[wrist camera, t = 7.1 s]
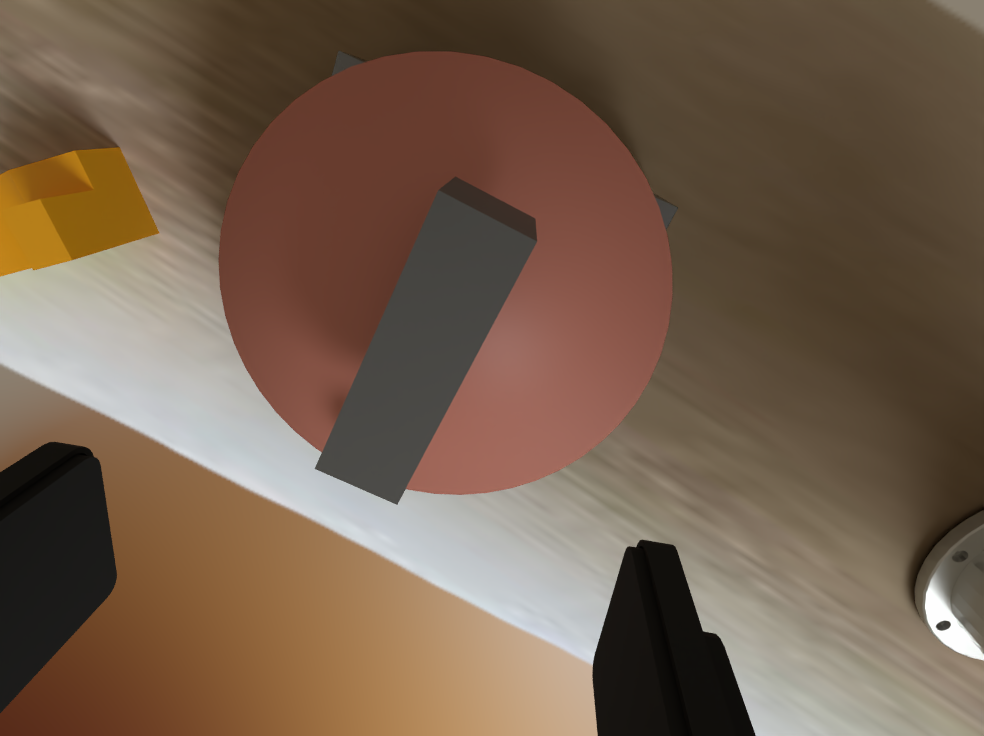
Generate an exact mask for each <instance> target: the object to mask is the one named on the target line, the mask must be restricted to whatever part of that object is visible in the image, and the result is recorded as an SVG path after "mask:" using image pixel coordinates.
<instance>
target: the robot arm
mask: <svg viewBox="0 0 984 736" xmlns="http://www.w3.org/2000/svg"><path fill="white" fill-rule="evenodd" d="M116 578H117V572H116V566H115V558H114V552H113V545H112V538H111V532H110V525H109V518H108V512H107V505H106V498H105V491H104V485H103V478H102V472H101V465H100V462H99V460H98V459H97V458H95V457H94V456H93V453H92V452H91V450H90V449H88V448H86V447H83V446H76V445H71V444H65V443H58V442H49V443H47V444H44V445H43V446H41V447H39V448H38V449H36V450H35V451H33V452H31V453H30V454H28V455H27V456H25V457H24V458H22V459H20V460H19V461H17V462H16V463H14V464H13V465H11V466H10V467H8V468H6V469H5V470H3V471H2V472H0V713H1V712H2V711H3V710H4V709H5V707H6V706H7V705H8V704H9V703H10V702H11V701H12V700H13V699H14V698H15V697H16V695H18V694H19V692H20V691H21V690H22V689H23V688H24V687H25V686H26V685H27V684H28V683H29V682H30V681H31V679H32V678H33V677H34V676H35V675H36V674H37V673H38V672H39V671H40V670H41V669H42V668H43V666H44V665H45V664H46V663H47V662H48V661H49V660H50V659H51V658H52V657H53V656H54V655H55V654H56V652H57V651H58V650H59V649H60V648H61V647H62V646H63V645H64V644H65V643H66V641H68V639H69V638H70V637H71V636H72V635H73V634H74V633H75V632H76V631H77V630H78V629H79V628H80V626H81V625H82V624H83V623H84V622H85V621H86V620H87V619H88V618H89V617H90V616H91V614H92V613H93V612H94V611H95V610H96V609H97V608H98V607H99V606H100V605H101V604H102V603H103V602H104V601H105V599H106V598H107V597H108V596H109V595H110V593H111V592H112V590H113V588H114V585H115V583H116ZM915 604H916V607H917V610H918V613H919V616H920V617H921V619H922V620H923V622H924V623H925V624H926V626H927V627H928V628H929V630H930V631H931V633H932V634H933V635H934V636H935V637H936V638H937V639H938V640H939V641H940V642H941V643H942V644H944V645H945V646H947V647H948V648H950V649H952V650H953V651H955V652H958V653H960V654H963V655H965V656H968V657H971V658H976V659H980V660H984V510H983V511H981V512H979V513H977V514H975V515H973V516H971V517H969V518H967V519H966V520H965V521H963V522H962V523H960V524H959V525H958V526H956V527H955V528H953V529H952V530H951V531H950V532H949V533H948V534H946V535H945V536H944V537H943V538H942V539H941V540H940V541H939V542H938V543H937V544H936V545H935V547H934V548H933V549H932V551H931V552H930V553H929V555H928V556H927V558H926V559H925V561H924V563H923V565H922V567H921V569H920V571H919V573H918V576H917V580H916V585H915ZM593 688H594V699H595V710H596V720H597V732H598V736H756V735H755V732H754V730H753V727H752V724H751V721H750V718H749V715H748V713H747V710H746V707H745V704H744V701H743V698H742V695H741V693H740V690H739V687H738V684H737V681H736V678H735V676H734V673H733V670H732V667H731V664H730V661H729V658H728V656H727V653H726V650H725V647H724V645H723V643H722V641H721V639H720V638H719V637H718V636H717V635H716V634H714V633H708V632H703V630H702V627H701V624H700V621H699V618H698V615H697V612H696V608H695V605H694V602H693V599H692V596H691V593H690V590H689V587H688V583H687V580H686V577H685V574H684V571H683V568H682V565H681V561H680V558H679V555H678V552H677V550H676V547H675V546H674V545H671V544H665V543H659V542H653V541H647V540H640V541H639V543H638V544H637V547H630V546H629V547H627V548H626V551H625V553H624V557H623V560H622V564H621V567H620V571H619V574H618V577H617V581H616V584H615V588H614V591H613V594H612V598H611V601H610V605H609V608H608V611H607V615H606V618H605V622H604V625H603V628H602V632H601V635H600V639H599V642H598V646H597V649H596V652H595V656H594V661H593Z"/></svg>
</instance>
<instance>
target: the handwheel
mask: <svg viewBox="0 0 984 736" xmlns="http://www.w3.org/2000/svg"><path fill="white" fill-rule="evenodd" d="M219 275H220V290H221V295H222V300H223V306H224V311H225V316H226V319H227V323H228V326H229V329H230V332H231V335H232V338H233V341H234V344H235V346H236V348H237V350H238V353H239V355H240V357H241V359H242V361H243V363H244V366H245V368H246V369H247V371H248V373H249V374H250V376H251V378H252V379H253V381H254V382H255V384H256V386H257V387H258V389H259V391H260V392H261V393H262V395H263V396H264V397H265V398H266V400H267V401H268V402H269V403H270V405H271V406H272V407H273V409H274V410H275V411H276V412H277V413H278V414H279V415H280V417H281V418H282V419H283V420H284V421H285V422H286V423H287V424H288V425H289V426H290V427H291V428H292V429H293V430H294V431H295V432H296V433H298V434H299V435H300V436H301V437H303V438H304V439H305V440H306V441H307V442H309V443H310V444H311V445H312V446H314V447H315V448H316V449H318V450H319V451H321V452H322V454H321V456H320V458H319V460H318V463H317V465H316V467H315V469H317V470H319V471H321V472H324V473H326V474H328V475H330V476H333V477H335V478H337V479H340V480H342V481H344V482H346V483H349V484H351V485H353V486H356V487H358V488H360V489H362V490H365V491H367V492H369V493H372V494H374V495H376V496H378V497H381V498H383V499H385V500H388V501H390V502H392V503H394V504H398V502H399V500H400V498H401V497H402V495H403V493H404V491H405V489H408V490H414V491H421V492H427V493H434V494H456V495H463V494H477V493H488V492H493V491H499V490H504V489H509V488H513V487H517V486H520V485H523V484H526V483H530V482H533V481H536V480H538V479H540V478H543V477H545V476H547V475H550V474H552V473H554V472H556V471H559V470H560V469H562V468H564V467H565V466H567V465H569V464H571V463H572V462H574V461H576V460H577V459H579V458H581V457H582V456H583V455H585V454H586V453H587V452H589V451H590V450H591V449H592V448H594V447H595V446H596V445H598V444H599V443H600V442H602V441H603V440H604V439H605V438H606V437H607V436H608V435H609V434H610V433H611V432H612V431H613V430H614V429H615V428H616V427H617V426H618V425H619V424H620V423H621V421H622V420H623V419H624V418H625V416H626V415H627V414H628V412H629V411H630V410H631V409H632V407H633V406H634V405H635V404H636V402H637V401H638V399H639V397H640V395H641V394H642V392H643V390H644V389H645V387H646V385H647V384H648V382H649V380H650V378H651V376H652V374H653V371H654V369H655V367H656V364H657V362H658V360H659V357H660V355H661V352H662V348H663V345H664V341H665V338H666V334H667V330H668V327H669V319H670V312H671V304H672V262H671V255H670V248H669V241H668V236H667V233H666V229H665V226H664V222H663V219H662V215H661V212H660V208H659V206H658V203H657V201H656V199H655V197H654V195H653V192H652V190H651V188H650V186H649V183H648V181H647V179H646V177H645V175H644V174H643V172H642V171H641V169H640V167H639V166H638V164H637V163H636V161H635V159H634V158H633V156H632V155H631V153H630V152H629V150H628V149H627V148H626V146H625V145H624V144H623V143H622V142H621V140H620V139H619V138H618V137H617V136H616V135H615V133H614V132H613V131H612V130H611V129H610V127H609V126H608V125H607V124H606V123H605V122H604V121H603V120H602V119H600V118H599V117H598V116H597V115H596V114H595V113H594V112H593V111H591V110H590V109H589V108H588V107H587V106H586V105H585V104H584V103H582V102H581V101H580V100H579V99H577V98H576V97H574V96H572V95H571V94H569V93H568V92H566V91H565V90H563V89H562V88H560V87H559V86H557V85H556V84H554V83H553V82H551V81H549V80H547V79H545V78H543V77H541V76H538V75H536V74H534V73H532V72H530V71H528V70H526V69H524V68H521V67H519V66H516V65H512V64H509V63H506V62H503V61H499V60H496V59H493V58H489V57H486V56H479V55H472V54H466V53H459V52H452V51H417V52H410V53H404V54H397V55H390V56H384V57H380V58H377V59H374V60H371V61H368V62H364V63H361V64H358V65H355V66H352V67H349V68H347V69H345V70H343V71H341V72H339V73H337V74H335V75H333V76H331V77H329V78H327V79H325V80H323V81H321V82H320V83H318V84H317V85H315V86H314V87H312V88H311V89H310V90H308V91H307V92H305V93H304V94H302V95H301V96H300V97H298V98H297V99H295V100H294V101H293V102H292V103H291V104H290V105H289V106H288V107H287V108H286V109H285V110H284V111H283V112H282V113H280V114H279V115H278V116H277V117H276V118H275V119H274V120H273V121H272V122H271V123H270V125H269V126H268V127H267V129H266V130H265V131H264V133H263V134H262V135H261V136H260V138H259V139H258V140H257V142H256V143H255V144H254V146H253V147H252V149H251V151H250V152H249V154H248V156H247V158H246V160H245V161H244V163H243V165H242V167H241V169H240V170H239V172H238V174H237V177H236V180H235V182H234V185H233V188H232V190H231V193H230V196H229V198H228V201H227V205H226V210H225V214H224V219H223V223H222V228H221V236H220V248H219Z"/></svg>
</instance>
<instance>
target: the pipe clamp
mask: <svg viewBox="0 0 984 736" xmlns="http://www.w3.org/2000/svg"><path fill="white" fill-rule="evenodd" d="M158 233H159V231H158V229H157V227H156V225H155V223H154V220H153V218H152V216H151V214H150V212H149V210H148V207H147V205H146V203H145V201H144V199H143V197H142V194H141V192H140V190H139V188H138V186H137V184H136V182H135V179H134V177H133V175H132V173H131V171H130V169H129V166H128V164H127V162H126V160H125V158H124V156H123V153H122V151H121V149H120V147H117V148H103V149H89V150H75V151H71V152H68V153H65V154H61V155H58V156H55V157H51V158H48V159H44V160H41V161H38V162H34V163H31V164H27V165H24V166H21V167H17V168H14V169H11V170H8V171H6V172H5V173H2V174H0V276H4V275H7V274H11V273H15V272H18V271H22V270H26V269H30V268H32V269H33V270H37V269H40V268H44V267H48V266H52V265H56V264H59V263H63V262H67V261H71V260H74V259H77V258H81V257H84V256H87V255H90V254H93V253H97V252H100V251H103V250H106V249H110V248H113V247H116V246H119V245H122V244H126V243H129V242H132V241H135V240H139V239H142V238H145V237H148V236H151V235H155V234H158Z"/></svg>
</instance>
